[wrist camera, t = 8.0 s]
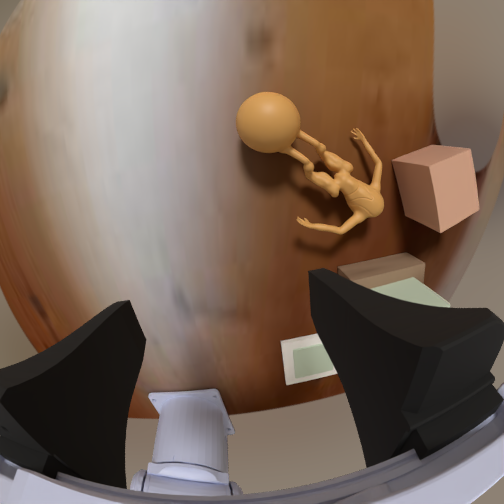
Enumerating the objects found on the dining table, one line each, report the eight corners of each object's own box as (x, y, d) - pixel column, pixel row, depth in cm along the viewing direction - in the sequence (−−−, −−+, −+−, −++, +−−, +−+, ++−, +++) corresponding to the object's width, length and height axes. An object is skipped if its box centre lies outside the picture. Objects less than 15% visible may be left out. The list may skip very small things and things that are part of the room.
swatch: (340, 369, 26) (341, 373, 26) (285, 382, 26) (286, 386, 26) (342, 327, 24) (344, 331, 24) (280, 341, 24) (281, 345, 24)
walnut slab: (401, 317, 24) (416, 332, 21) (339, 335, 24) (350, 354, 21) (406, 252, 22) (425, 263, 19) (337, 266, 22) (351, 280, 19)
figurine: (195, 156, 16) (309, 239, 23) (233, 160, 11) (361, 267, 18) (265, 65, 16) (355, 163, 23) (321, 45, 11) (410, 174, 18)
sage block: (413, 277, 19) (450, 303, 15) (408, 327, 21) (437, 358, 16) (361, 291, 19) (393, 325, 15) (359, 343, 21) (384, 381, 16)
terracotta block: (442, 196, 20) (479, 209, 16) (404, 215, 21) (440, 233, 16) (431, 144, 19) (470, 148, 14) (390, 160, 19) (429, 166, 14)
